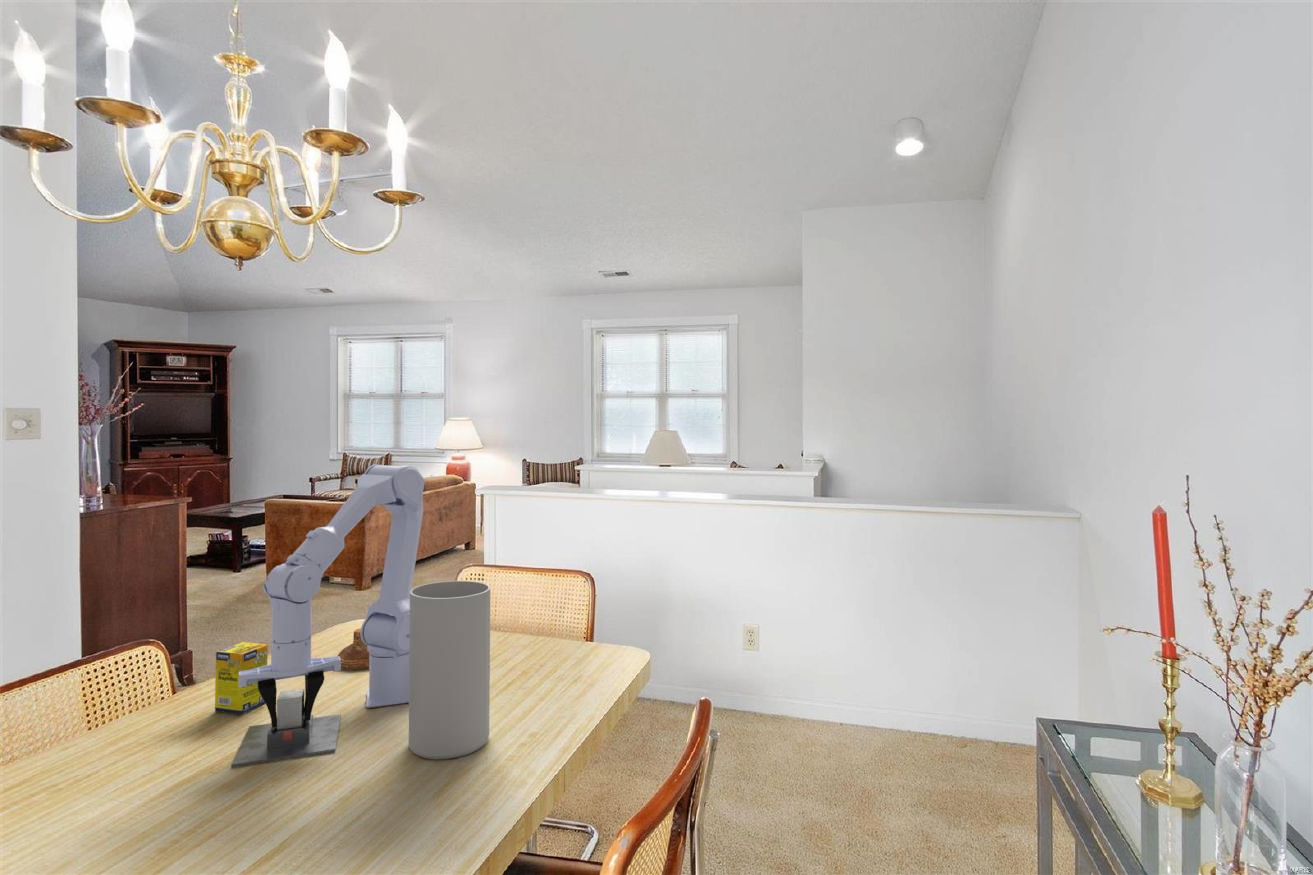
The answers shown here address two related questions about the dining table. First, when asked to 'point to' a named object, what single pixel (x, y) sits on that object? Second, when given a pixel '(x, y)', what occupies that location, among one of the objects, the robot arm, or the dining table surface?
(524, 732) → the dining table surface
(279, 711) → the column
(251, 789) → the dining table surface
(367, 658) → the bell
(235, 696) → the supplement box
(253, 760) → the stand base
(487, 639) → the cylinder vase
